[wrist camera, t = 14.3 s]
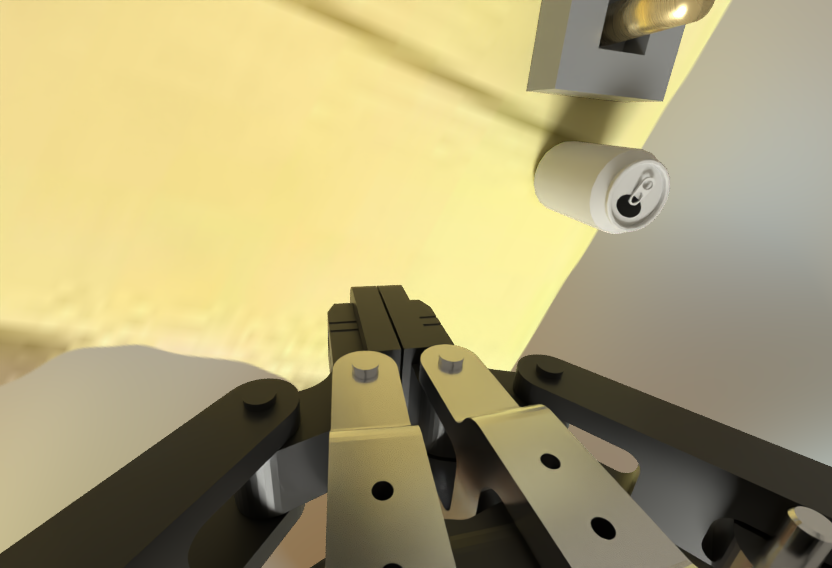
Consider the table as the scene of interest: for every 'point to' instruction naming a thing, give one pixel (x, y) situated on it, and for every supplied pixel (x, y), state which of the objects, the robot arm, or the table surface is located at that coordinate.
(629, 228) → the can
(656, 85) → the socket
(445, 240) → the table surface
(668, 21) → the peg
